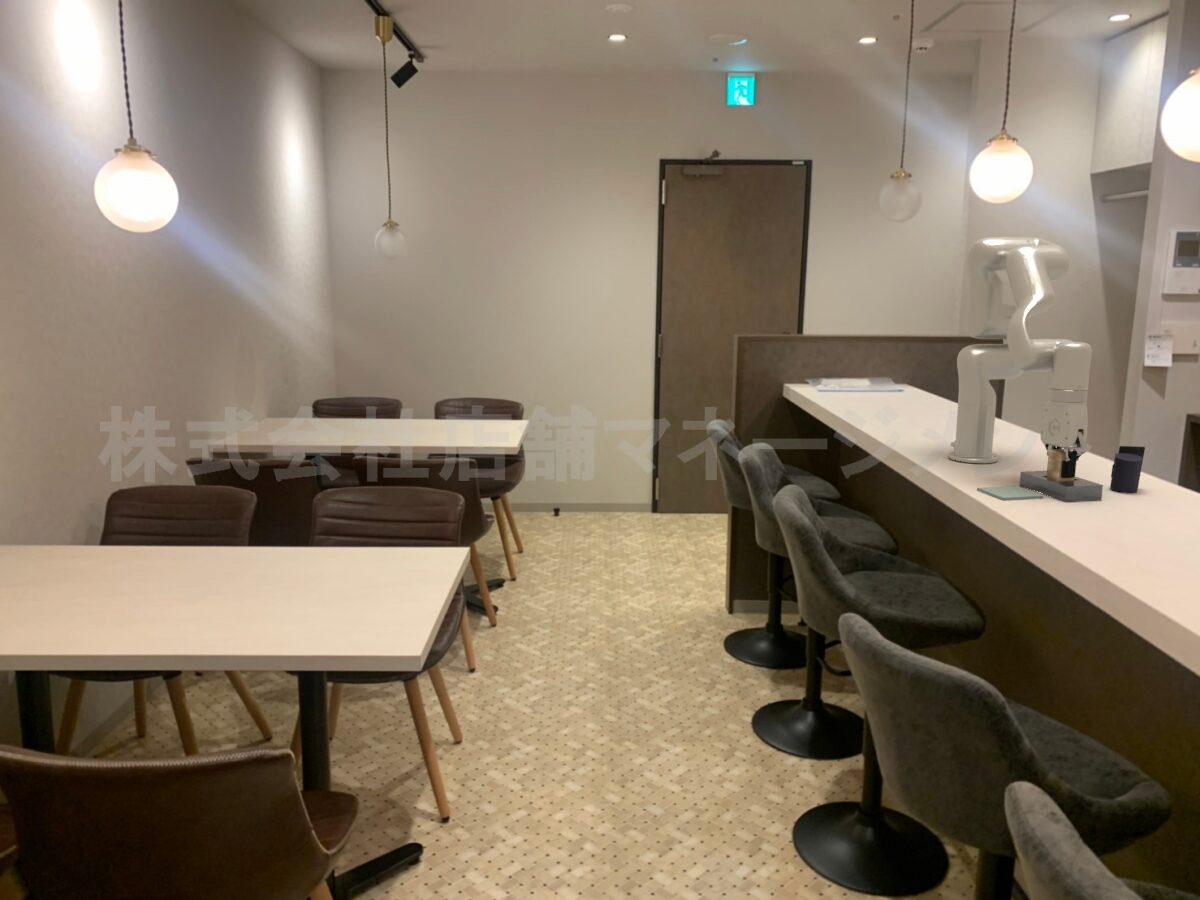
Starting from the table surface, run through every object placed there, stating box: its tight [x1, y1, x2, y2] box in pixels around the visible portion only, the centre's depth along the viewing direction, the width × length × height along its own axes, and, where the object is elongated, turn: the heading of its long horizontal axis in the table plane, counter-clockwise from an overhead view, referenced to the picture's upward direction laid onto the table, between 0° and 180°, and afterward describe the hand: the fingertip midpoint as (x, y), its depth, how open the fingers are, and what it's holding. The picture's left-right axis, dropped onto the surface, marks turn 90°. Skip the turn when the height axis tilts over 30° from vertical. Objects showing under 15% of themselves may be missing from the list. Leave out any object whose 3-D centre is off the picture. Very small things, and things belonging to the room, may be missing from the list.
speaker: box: [1109, 445, 1146, 494], centre depth 204 cm, size 8×6×10 cm
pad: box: [976, 485, 1044, 501], centre depth 201 cm, size 10×10×1 cm
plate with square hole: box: [1019, 470, 1104, 503], centre depth 202 cm, size 16×9×4 cm, turn 10°
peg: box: [1046, 448, 1074, 481], centre depth 201 cm, size 4×4×10 cm
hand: (1060, 474), depth 201 cm, fingers closed on peg, 4 cm apart
